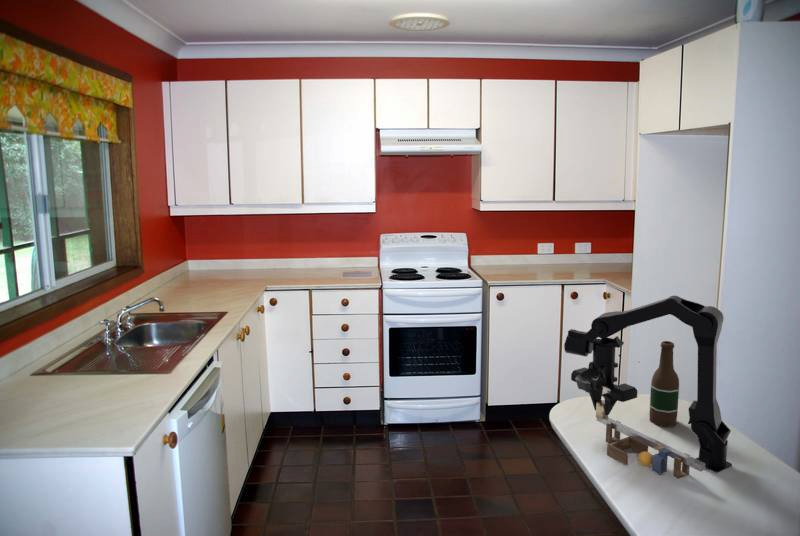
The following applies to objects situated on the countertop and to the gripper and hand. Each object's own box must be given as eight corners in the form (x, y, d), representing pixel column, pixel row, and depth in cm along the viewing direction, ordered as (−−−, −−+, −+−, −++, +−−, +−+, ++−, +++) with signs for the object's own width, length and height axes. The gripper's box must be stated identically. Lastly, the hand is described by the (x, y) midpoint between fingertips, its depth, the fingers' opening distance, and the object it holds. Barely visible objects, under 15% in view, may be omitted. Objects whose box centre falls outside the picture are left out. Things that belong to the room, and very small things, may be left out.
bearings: (616, 437, 163) (616, 420, 162) (689, 474, 144) (690, 455, 143) (605, 441, 161) (606, 424, 160) (678, 479, 142) (679, 459, 141)
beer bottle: (672, 415, 175) (676, 338, 170) (681, 427, 167) (687, 346, 163) (645, 415, 176) (649, 338, 171) (653, 427, 168) (657, 346, 163)
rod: (600, 429, 167) (602, 399, 165) (706, 482, 139) (708, 446, 137) (584, 434, 164) (585, 404, 162) (689, 490, 136) (691, 454, 134)
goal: (628, 446, 157) (629, 436, 157) (647, 456, 152) (648, 445, 152) (606, 455, 154) (607, 444, 153) (625, 465, 148) (626, 454, 148)
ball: (644, 460, 150) (645, 447, 150) (656, 466, 147) (657, 453, 147) (634, 464, 149) (635, 451, 148) (646, 470, 146) (647, 457, 145)
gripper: (557, 355, 165) (556, 407, 168) (609, 376, 149) (607, 433, 152) (586, 348, 170) (584, 398, 173) (640, 367, 154) (637, 422, 157)
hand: (601, 412), depth 164 cm, fingers open, 3 cm apart
